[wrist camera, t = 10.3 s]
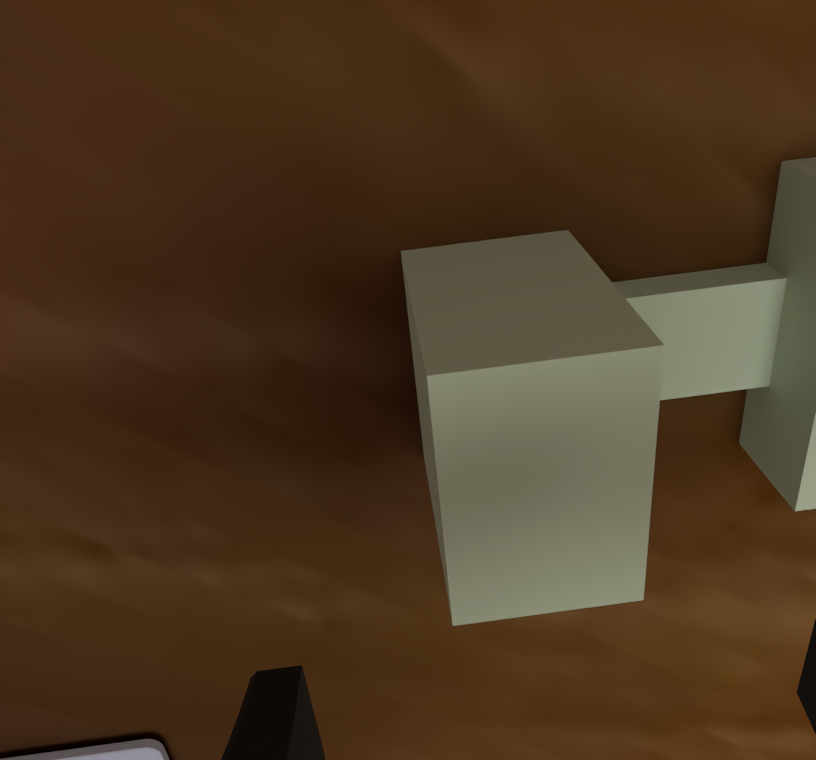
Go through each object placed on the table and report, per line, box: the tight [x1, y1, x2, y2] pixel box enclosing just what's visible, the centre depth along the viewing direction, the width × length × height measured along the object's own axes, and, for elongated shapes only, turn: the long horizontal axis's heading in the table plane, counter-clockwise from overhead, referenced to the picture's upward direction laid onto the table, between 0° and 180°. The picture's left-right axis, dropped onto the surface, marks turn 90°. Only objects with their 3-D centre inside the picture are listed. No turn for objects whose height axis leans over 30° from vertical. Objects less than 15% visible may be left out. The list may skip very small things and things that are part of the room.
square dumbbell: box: [401, 157, 816, 626], centre depth 16 cm, size 8×13×6 cm, turn 96°
